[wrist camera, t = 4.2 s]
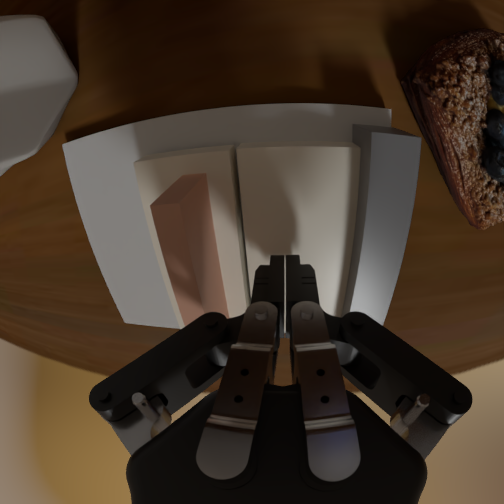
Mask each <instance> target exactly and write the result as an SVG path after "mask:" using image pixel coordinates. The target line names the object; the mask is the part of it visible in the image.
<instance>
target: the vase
mask: <svg viewBox="0 0 504 504" xmlns="http://www.w3.org/2000/svg"><path fill="white" fill-rule="evenodd" d="M77 84H78V73H77V71H76V69H75V67H74V65H73V63H72V61H71V59H70V57H69V55H68V53H67V51H66V49H65V47H64V45H63V43H62V41H61V40H60V38H59V36H58V35H57V33H56V32H55V31H54V29H53V28H52V27H51V25H50V24H49V23H48V22H47V20H46V19H45V18H44V17H43V16H38V15H7V16H0V176H1V175H2V174H4V173H5V172H6V171H7V170H8V169H9V168H10V167H11V166H13V165H14V164H15V163H18V162H20V161H22V160H25V159H27V158H29V157H31V156H32V155H34V154H36V153H37V152H38V150H39V149H40V148H41V147H42V146H43V145H44V144H45V143H46V142H47V141H48V140H49V139H50V138H51V137H52V135H53V134H54V132H55V130H56V128H57V125H58V123H59V121H60V119H61V117H62V115H63V113H64V110H65V108H66V106H67V104H68V102H69V100H70V98H71V96H72V94H73V92H74V90H75V89H76V87H77Z"/></svg>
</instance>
